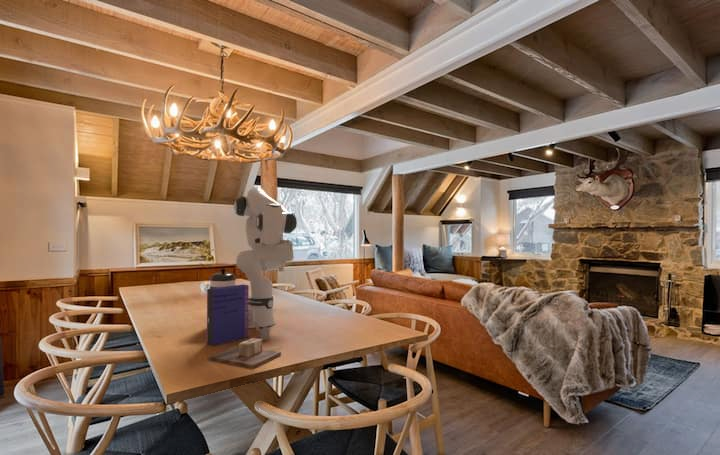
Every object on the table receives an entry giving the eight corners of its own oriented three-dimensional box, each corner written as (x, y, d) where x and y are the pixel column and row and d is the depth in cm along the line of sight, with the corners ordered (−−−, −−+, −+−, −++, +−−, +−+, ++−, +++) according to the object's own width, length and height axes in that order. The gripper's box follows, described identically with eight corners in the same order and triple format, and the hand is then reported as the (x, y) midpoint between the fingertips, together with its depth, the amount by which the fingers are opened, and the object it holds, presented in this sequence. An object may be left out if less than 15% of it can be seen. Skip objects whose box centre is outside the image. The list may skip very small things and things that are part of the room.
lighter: (269, 338, 169) (269, 320, 169) (269, 339, 167) (269, 321, 167) (253, 339, 167) (253, 321, 167) (253, 340, 166) (253, 322, 166)
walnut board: (207, 359, 140) (207, 356, 140) (237, 347, 155) (237, 344, 155) (253, 368, 131) (253, 365, 131) (280, 355, 146) (280, 351, 146)
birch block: (248, 356, 140) (262, 350, 148) (248, 344, 140) (262, 339, 148) (239, 354, 142) (253, 349, 149) (239, 343, 142) (253, 337, 149)
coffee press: (198, 329, 184) (199, 269, 185) (219, 322, 200) (220, 266, 200) (228, 332, 179) (229, 270, 180) (247, 324, 195) (248, 267, 195)
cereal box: (242, 335, 173) (242, 284, 173) (248, 337, 170) (248, 285, 170) (206, 344, 160) (207, 288, 160) (212, 346, 157) (212, 289, 157)
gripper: (296, 239, 164) (296, 271, 164) (259, 239, 172) (259, 269, 172) (288, 240, 158) (287, 272, 158) (250, 239, 167) (250, 270, 166)
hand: (272, 270), depth 165 cm, fingers open, 8 cm apart
